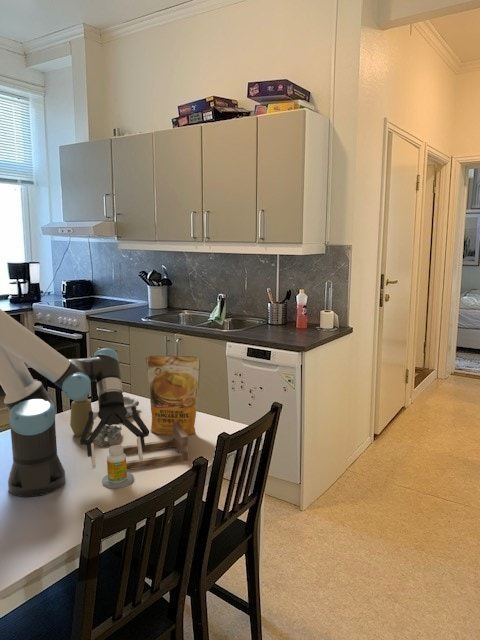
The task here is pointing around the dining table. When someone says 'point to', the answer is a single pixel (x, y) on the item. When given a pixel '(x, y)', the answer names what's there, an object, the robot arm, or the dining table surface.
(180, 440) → the lane rack
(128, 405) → the dish
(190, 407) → the pancake mix bag
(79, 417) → the squeeze bottle
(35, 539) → the dining table surface
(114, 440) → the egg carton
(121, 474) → the supplement bottle
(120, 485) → the coaster
